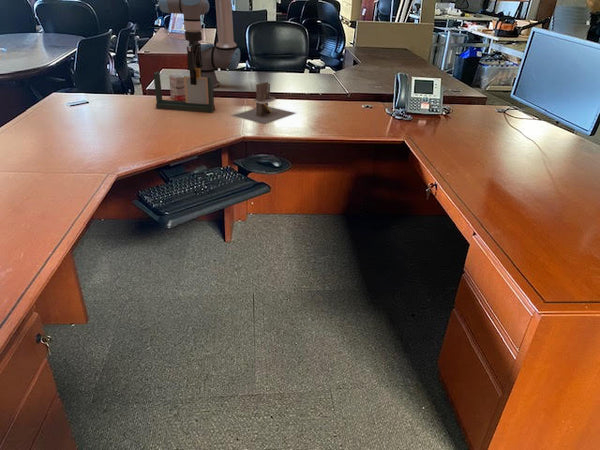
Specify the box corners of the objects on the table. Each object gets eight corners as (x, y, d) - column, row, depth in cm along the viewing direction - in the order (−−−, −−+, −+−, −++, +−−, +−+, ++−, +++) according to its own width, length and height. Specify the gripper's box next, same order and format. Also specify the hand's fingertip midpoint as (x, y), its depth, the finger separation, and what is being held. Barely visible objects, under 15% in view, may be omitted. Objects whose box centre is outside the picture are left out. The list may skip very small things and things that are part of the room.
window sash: (187, 102, 219) (184, 66, 210) (210, 104, 218) (208, 68, 210) (185, 104, 216) (182, 68, 208) (208, 106, 216) (206, 69, 207)
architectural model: (295, 113, 222) (296, 83, 215) (264, 123, 204) (265, 91, 197) (264, 105, 232) (264, 76, 224) (232, 115, 213) (231, 84, 206)
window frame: (160, 105, 222) (157, 71, 214) (214, 109, 221) (213, 75, 213) (156, 108, 217) (152, 73, 209) (211, 113, 215) (209, 77, 207)
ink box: (186, 100, 234) (184, 76, 228) (177, 101, 231) (175, 77, 226) (179, 96, 240) (177, 73, 234) (170, 97, 237) (168, 74, 231)
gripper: (191, 28, 210) (195, 78, 221) (177, 33, 192) (181, 86, 203) (207, 29, 209) (209, 79, 221) (194, 34, 192) (197, 88, 203)
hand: (196, 82), depth 212 cm, fingers open, 8 cm apart
